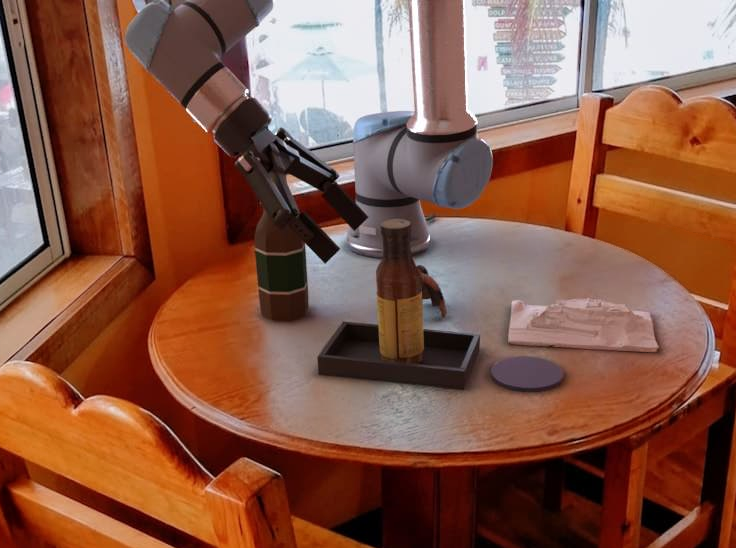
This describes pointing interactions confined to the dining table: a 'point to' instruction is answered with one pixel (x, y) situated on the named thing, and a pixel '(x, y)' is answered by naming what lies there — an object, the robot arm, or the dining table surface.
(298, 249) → the beer bottle
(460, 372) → the tray
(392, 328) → the sauce bottle
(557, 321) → the terrain model
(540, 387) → the coaster
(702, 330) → the dining table surface
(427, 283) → the brown broken pot
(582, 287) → the dining table surface
